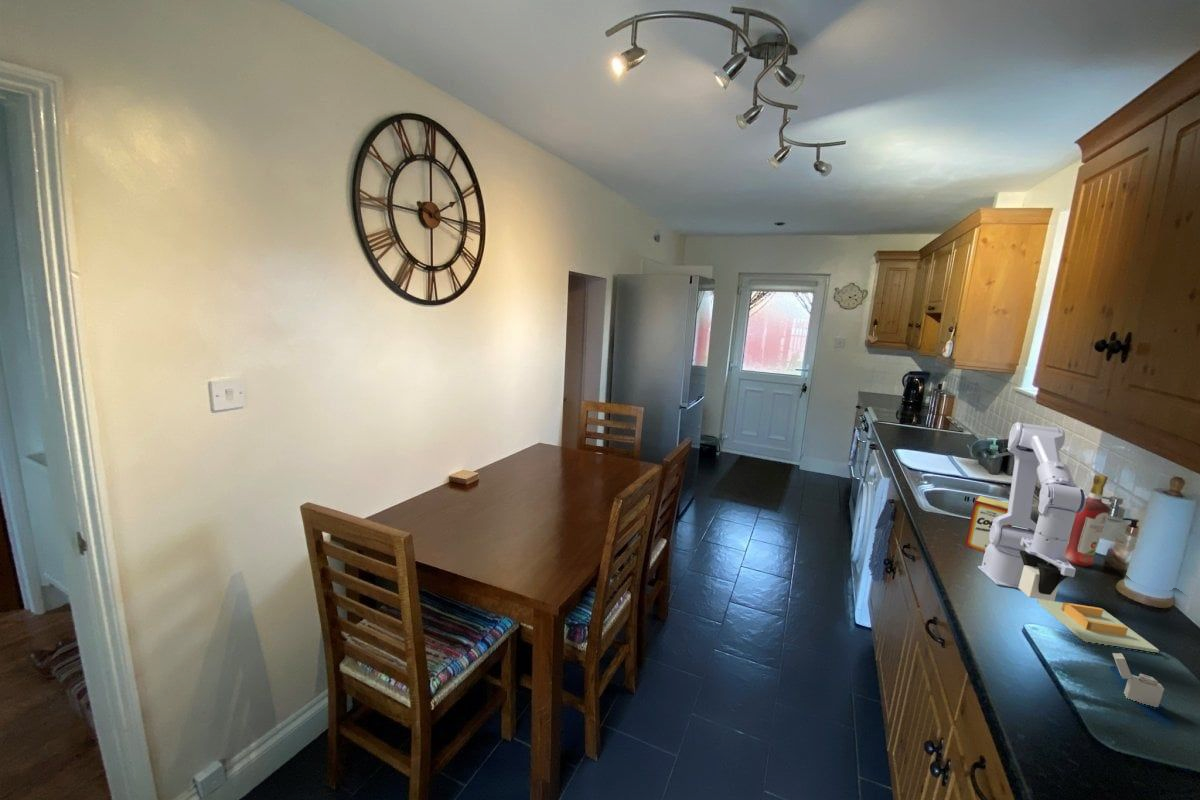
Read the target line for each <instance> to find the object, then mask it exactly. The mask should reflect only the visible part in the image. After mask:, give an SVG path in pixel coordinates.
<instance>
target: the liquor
mask: <svg viewBox="0 0 1200 800" xmlns="http://www.w3.org/2000/svg"><path fill="white" fill-rule="evenodd" d="M1108 478H1109V476H1108V475H1107V476H1106V475H1104V474H1099V473H1098V474H1097V473H1095V474H1094V475H1093V480H1092V486H1091V489H1090V490H1089V493H1088V495H1087V497H1086V503H1085V506H1084V509H1083V510H1082V512H1080V513H1076V512H1075V513H1076V516H1075V520H1074V523H1073V527H1072V530H1071V534H1070V538H1069V541H1068V545H1067V549H1066V552H1065V557H1066V559H1067V560H1068V561H1069V563H1070V562H1071V563H1070V564H1072V563H1073V565H1075V564H1076V566H1078V565H1079V567H1089V566H1092V565H1095V563H1094V557H1095V555H1096V551H1097V548H1098V545H1099V542H1100V540H1101V537H1102V535H1103V533H1104V532H1103V531H1104V529H1105V526H1106V524H1107V521H1108V518H1109V515H1110V513H1111V510H1112V508H1111V507H1110V506H1109V505H1107V504H1106V503H1105V502H1103V494H1104V489H1105V488H1104V487H1105V486H1106V484H1107V480H1108Z"/></svg>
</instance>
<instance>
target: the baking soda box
mask: <svg viewBox="0 0 1200 800" xmlns="http://www.w3.org/2000/svg"><path fill="white" fill-rule="evenodd" d="M1008 505H1009V502H1005V501H1002V500H999V499H993V498H991V497H990V498H989V497H986V496H983V495H977V497H976V498H975V499H974V503H973V507H972V511H971V516H970V521H969V525H968V528H967V533H966V538H965V542H964V546H965V545H966V546H969V547H971V548H970V549H972V548H974V549H973V550H975V549H978V550H980V551H979V552H981V551H983V552H982V553H984V552H985V549H986V547H987V546H988V545H989V544H990V543H991V542H990V540H989V533H990V529H991V526H992V523H993V520H994V518H996V517H998V516H1001V515H1004V514H1006V513H1007V512H1008ZM1005 525H1006V526H1011V527H1013V525H1010V524H1005ZM966 546H965V547H966ZM969 547H968V548H969ZM978 550H977V551H978Z"/></svg>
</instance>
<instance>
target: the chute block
mask: <svg viewBox="0 0 1200 800" xmlns="http://www.w3.org/2000/svg"><path fill="white" fill-rule="evenodd" d="M1039 579H1040V574H1039V568H1038V567H1033V566H1026V565H1024V568H1023V571H1022V575H1021V579H1020V583H1019V587H1018V588H1017V589H1019V590H1020V591H1021V592H1022V593H1024V594H1025V595H1026V596H1027V597H1028V598H1032V599H1036V600H1038V599H1042V600H1048V601H1056V597H1057V593H1058V589H1059V585H1060V583H1059V584H1058V586H1057V587H1056V588H1055V589H1054V591H1053V592H1052V593H1051V595H1047V594H1041V593H1040V592H1039V590H1038V586H1039Z"/></svg>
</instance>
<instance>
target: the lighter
mask: <svg viewBox="0 0 1200 800" xmlns="http://www.w3.org/2000/svg"><path fill="white" fill-rule="evenodd" d="M1111 654H1112V657H1113V658H1114V662H1115V665H1116V666H1117V670H1118V672H1119V674H1120V677H1122V679H1126V680H1127V681H1126V685H1125V687H1124V691H1123V694H1125V695H1124V696H1126V697H1125V699H1127V698H1128V700H1129V699H1131V700H1130V701H1132V700H1133V702H1135V701H1137V702H1136V703H1138V702H1139V704H1141V703H1142V704H1141V705H1144V704H1146V705H1145V706H1147V705H1150V706H1154V707H1158V708H1159V706H1160V703H1161V699H1162V697H1163V695H1164V691H1165V688H1164V686H1163V685H1162V684H1161V683H1159V681H1158V680H1157V679H1155V678H1154V677H1153V676H1149V675H1146V674H1143V673H1141V672H1140V673H1139V675H1138V676H1137V675H1134V674H1132V673H1131V671H1130V668H1129V666H1128V664H1127V663H1128V662H1127V661H1126V658H1125V657H1124V655H1123V652H1122V653H1121V652H1119V653H1118V652H1117V653H1116V652H1112V653H1111Z"/></svg>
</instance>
